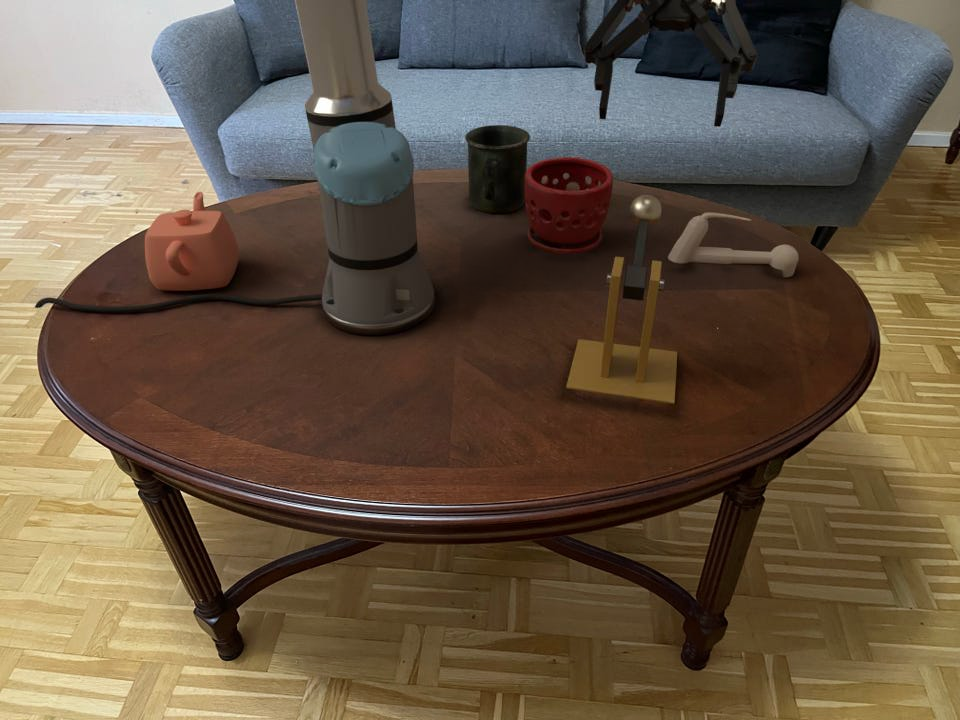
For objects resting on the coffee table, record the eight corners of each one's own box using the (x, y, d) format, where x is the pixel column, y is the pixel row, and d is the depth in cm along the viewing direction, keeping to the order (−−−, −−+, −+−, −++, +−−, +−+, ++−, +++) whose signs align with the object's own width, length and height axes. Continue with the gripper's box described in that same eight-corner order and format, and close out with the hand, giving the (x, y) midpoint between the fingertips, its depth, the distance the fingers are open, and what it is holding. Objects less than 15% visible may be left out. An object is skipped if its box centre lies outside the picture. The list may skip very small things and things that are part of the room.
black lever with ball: (630, 208, 84) (632, 186, 81) (661, 210, 83) (664, 189, 80) (615, 300, 78) (617, 282, 75) (649, 304, 78) (652, 285, 74)
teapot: (142, 308, 99) (119, 240, 93) (178, 249, 113) (160, 186, 107) (226, 305, 99) (209, 236, 93) (251, 246, 114) (237, 183, 108)
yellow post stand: (577, 348, 90) (586, 241, 81) (675, 361, 87) (695, 252, 79) (565, 397, 82) (573, 284, 73) (672, 413, 79) (694, 298, 71)
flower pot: (506, 240, 114) (507, 168, 107) (570, 220, 120) (575, 150, 113) (557, 273, 106) (562, 196, 99) (623, 249, 111) (632, 175, 104)
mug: (531, 192, 130) (534, 126, 123) (520, 226, 119) (522, 155, 112) (473, 188, 132) (472, 123, 125) (456, 222, 120) (454, 152, 113)
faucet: (777, 305, 106) (816, 250, 100) (668, 264, 105) (701, 205, 99) (772, 291, 109) (810, 237, 104) (666, 251, 108) (698, 194, 102)
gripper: (781, -19, 89) (762, 139, 86) (582, -24, 95) (558, 125, 92) (796, -64, 82) (776, 107, 79) (579, -66, 87) (553, 94, 84)
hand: (659, 117), depth 85 cm, fingers open, 13 cm apart
